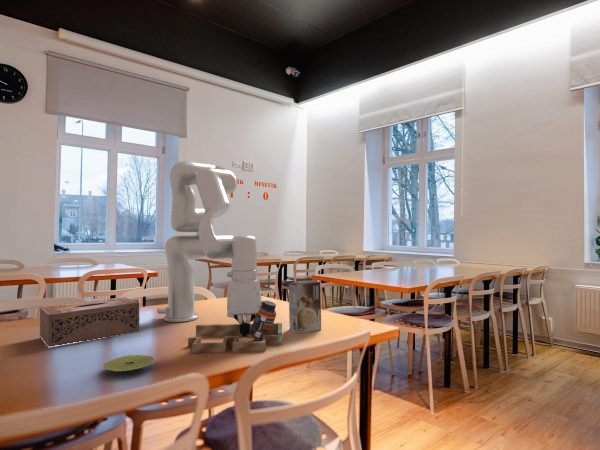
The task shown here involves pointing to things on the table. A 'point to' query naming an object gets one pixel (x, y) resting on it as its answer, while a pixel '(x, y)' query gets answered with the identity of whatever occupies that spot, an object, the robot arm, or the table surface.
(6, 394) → the table surface
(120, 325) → the tissue box cover
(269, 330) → the supplement bottle
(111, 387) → the table surface
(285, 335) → the table surface
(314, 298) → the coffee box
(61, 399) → the table surface
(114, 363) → the green disc
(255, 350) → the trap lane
